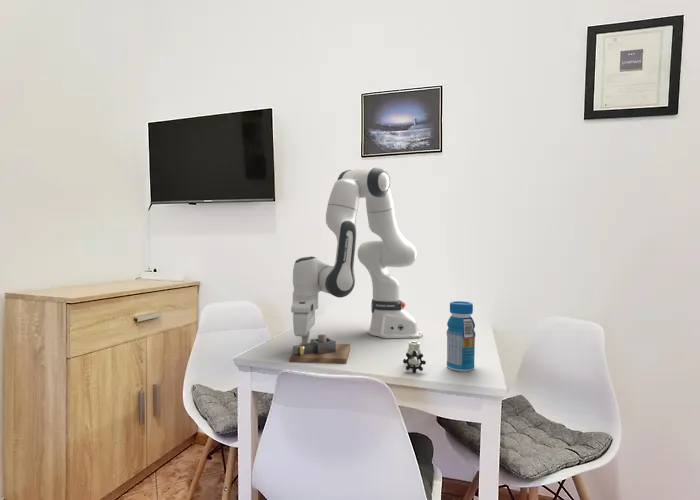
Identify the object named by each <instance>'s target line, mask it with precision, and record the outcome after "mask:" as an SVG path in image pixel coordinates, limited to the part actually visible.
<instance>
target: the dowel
mask: <svg viewBox="0 0 700 500" xmlns="http://www.w3.org/2000/svg"><path fill="white" fill-rule="evenodd" d="M300 356H304V346H300Z"/></svg>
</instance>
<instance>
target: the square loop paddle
mask: <svg viewBox="0 0 700 500" xmlns="http://www.w3.org/2000/svg"><path fill="white" fill-rule="evenodd" d="M309 343H310V344H304V345H300V344H298V345H292V354H294V355H295V356H297V355H300V346H304V354H311V353H317V354H325V353H332V352H336V344H337V343H336V340H334V339H331V338H329V337H327V336H326V342H321V343H319V342H318V338H312V339H311V338H310V339H309Z"/></svg>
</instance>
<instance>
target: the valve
mask: <svg viewBox="0 0 700 500" xmlns="http://www.w3.org/2000/svg"><path fill="white" fill-rule="evenodd" d="M421 352H422V351H421V349H420V341H416V340H415V341H414V340H413V341H409V342H408V348H407V352H406V353H405V356H406V358H407V359H406V358H403V360H402V363H403V364H407V365H405V370H406V371H410V369H411V371H412V373H413V374H416V373H417V370H418V371H420V372H422V371H423V370H424V367H423V366H422V365H426V363H427V361H426V360H425V359H422V358H423V357H424V354H423V353H421ZM416 365H418V366H416Z"/></svg>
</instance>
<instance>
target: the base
mask: <svg viewBox="0 0 700 500" xmlns="http://www.w3.org/2000/svg"><path fill="white" fill-rule="evenodd" d="M326 337H327V334H318V335H317V339H318V342H319V343H321V342H326ZM307 344H310V342H308V343H307ZM299 345H304V344H302V342H301V343H299ZM350 351H351V343H336V352H332V353H325V354H317V353H311V354H304V356H300V355H297V356H295V355H294V354H293V353H292V354H291V355H290V356H289V362H292V363H314V362H315V363H316V364H317V363H318V364H319V363H321V364H322V363H325V364H347V362H348V358H349V356H350ZM315 363H314V364H315Z"/></svg>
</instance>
